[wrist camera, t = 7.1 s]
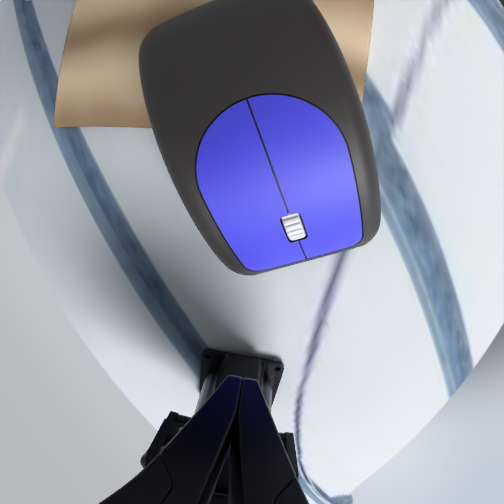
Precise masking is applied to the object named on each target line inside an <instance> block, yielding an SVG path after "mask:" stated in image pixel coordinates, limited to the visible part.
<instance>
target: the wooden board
mask: <svg viewBox="0 0 504 504" xmlns="http://www.w3.org/2000/svg"><path fill="white" fill-rule="evenodd" d="M211 1H213V0H76V3H75V6H74V9H73V13H72V17H71V21H70V24H69V28H68V33H67V37H66V41H65V46H64V51H63V56H62V62H61V67H60V74H59V80H58V87H57V95H56V104H55V114H54V127H88V126H103V127H141V128H152V126H151V123H150V119H149V116H148V112H147V109H146V105H145V101H144V96H143V91H142V86H141V80H140V72H139V49H140V45H141V43H142V41H143V39H144V37H145V36H146V35H147V33H148V32H149V31H150V30H151V29H152V28H154V27H155V26H157V25H159V24H161V23H163V22H165V21H167V20H169V19H171V18H173V17H175V16H178V15H180V14H182V13H184V12H186V11H189V10H191V9H193V8H196V7H198V6H201V5H203V4H205V3H208V2H211ZM313 2H314V3H315V5H316V6H317V7H318V9H319V11H320V12H321V14H322V15H323V17H324V19H325V20H326V22H327V24H328V26H329V27H330V29H331V31H332V33H333V35H334V37H335V39H336V41H337V43H338V45H339V47H340V49H341V51H342V54H343V56H344V58H345V60H346V63H347V65H348V67H349V70H350V73H351V75H352V78H353V80H354V83H355V86H356V89H357V92H358V95H359V98H360V101H361V104H362V97H363V91H364V84H365V78H366V70H367V63H368V55H369V47H370V39H371V29H372V19H373V8H374V0H313Z"/></svg>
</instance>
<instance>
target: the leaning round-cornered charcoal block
mask: <svg viewBox="0 0 504 504" xmlns="http://www.w3.org/2000/svg"><path fill="white" fill-rule="evenodd" d="M139 72H140V80H141V86H142V91H143V96H144V101H145V105H146V109H147V112H148V116H149V119H150V123H151V126H152V129H153V132H154V135H155V138H156V141H157V144H158V147H159V149H160V152H161V154H162V157H163V160H164V162H165V164H166V167H167V169H168V172H169V174H170V176H171V178H172V181H173V183H174V185H175V187H176V189H177V191H178V193H179V195H180V197H181V199H182V201H183V203H184V205H185V207H186V209H187V211H188V213H189V214H190V216H191V218H192V220H193V221H194V223H195V225H196V226H197V228H198V230H199V231H200V233H201V234H202V236H203V238H204V239H205V241H206V242H207V243H208V245H209V246H210V248H211V249H212V250H213V252H214V253H215V254H216V255H217V257H218V258H219V259H220V260H221V261H222V262H223V263H224V264H225V265H226V266H227V267H228V268H229V269H230V270H232V271H234V272H236V273H239V274H243V275H256V274H260V273H264V272H268V271H271V270H275V269H279V268H283V267H287V266H290V265H294V264H298V263H301V262H305V261H309V260H313V259H316V258H320V257H324V256H327V255H331V254H335V253H338V252H342V251H345V250H349V249H353V248H356V247H360V246H363V245H365V244H367V243H368V242H369V241H370V240H372V238H373V237H374V236H375V235H376V233H377V231H378V229H379V226H380V216H381V207H380V191H379V182H378V174H377V167H376V161H375V156H374V151H373V146H372V141H371V137H370V133H369V129H368V125H367V121H366V117H365V114H364V111H363V107H362V104H361V101H360V98H359V95H358V92H357V89H356V86H355V83H354V80H353V78H352V75H351V73H350V70H349V67H348V65H347V63H346V60H345V58H344V56H343V54H342V51H341V49H340V47H339V45H338V43H337V41H336V39H335V37H334V35H333V33H332V31H331V29H330V27H329V26H328V24H327V22H326V20H325V19H324V17H323V15H322V14H321V12H320V11H319V9H318V7H317V6H316V5H315V3H314V2H313V0H213V1H211V2H208V3H205V4H203V5H201V6H198V7H196V8H193V9H191V10H189V11H186V12H184V13H182V14H180V15H178V16H175V17H173V18H171V19H169V20H167V21H165V22H163V23H161V24H159V25H157V26H155V27H154V28H152V29H151V30H150V31H149V32H148V33H147V35H146V36H145V37H144V39H143V41H142V43H141V45H140V49H139Z"/></svg>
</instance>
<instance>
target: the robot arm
mask: <svg viewBox="0 0 504 504" xmlns="http://www.w3.org/2000/svg"><path fill="white" fill-rule="evenodd" d="M207 354H209V355H210V356H208V355H207ZM276 367H279V368H276ZM283 370H284V364H283V363H282V362H279V361H273V360H267V359H261V358H255V357H249V356H243V355H238V354H232V353H227V352H222V351H217V350H212V349H205V350H204V351H203V354H202V363H201V379H200V396H199V400H198V403H197V407H196V410H195V413H194V415H193V417H192V418H191V417H187V416H183V415H179V414H178V413H176V412H172V411H171V412H170V413H169V415H168V417H167V419H164V421H163V423H162V425H161V427H160V429H159V431H158V432H157V434H156V436H155V438H154V440H153V442H152V443H151V446H150V447H149V449H148V450H147V451H146V453H145V454H144V455H143V456H142V458H141V465H142V467H143V468H144V469H143V470H142V471H141V472H140V473H139V474H138V475H137V476H135V477H134V478H133V479H132V480H130V481H129V482H128V483H127V484H125V485H124V486H123V487H122V488H120V489H119V490H117V491H116V492H115V493H114V494H112V495H110V496H109V497H108V498H106V499H105V500H103V501H102V502H100V503H99V504H309V502H308V500H307V498H306V496H305V494H304V492H303V490H302V488H301V485H300V483H299V481H298V466H297V459H296V451H295V444H294V436H293V433H288V432H285V433H278V431H277V428H276V426H275V423H274V421H273V418H272V416H271V407H272V404H273V401H274V398H275V395H276V392H277V389H278V386H279V383H280V380H281V377H282V374H283Z"/></svg>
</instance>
